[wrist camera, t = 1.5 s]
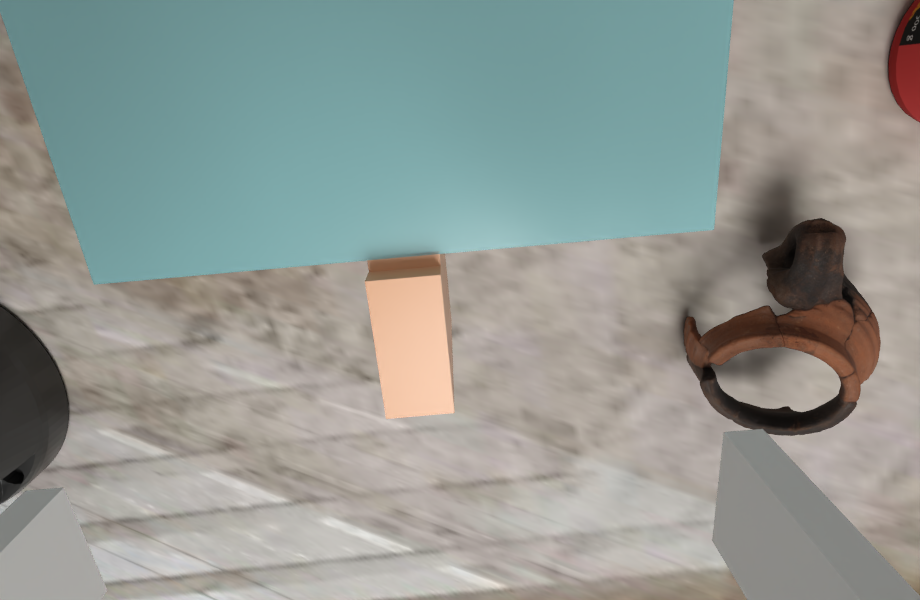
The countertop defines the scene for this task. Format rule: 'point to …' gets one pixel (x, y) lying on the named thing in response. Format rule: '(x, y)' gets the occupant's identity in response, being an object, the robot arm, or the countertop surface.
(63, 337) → the countertop surface
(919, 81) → the canned food
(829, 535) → the robot arm
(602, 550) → the countertop surface
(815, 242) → the broken clay pot
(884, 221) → the countertop surface
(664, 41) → the lid
